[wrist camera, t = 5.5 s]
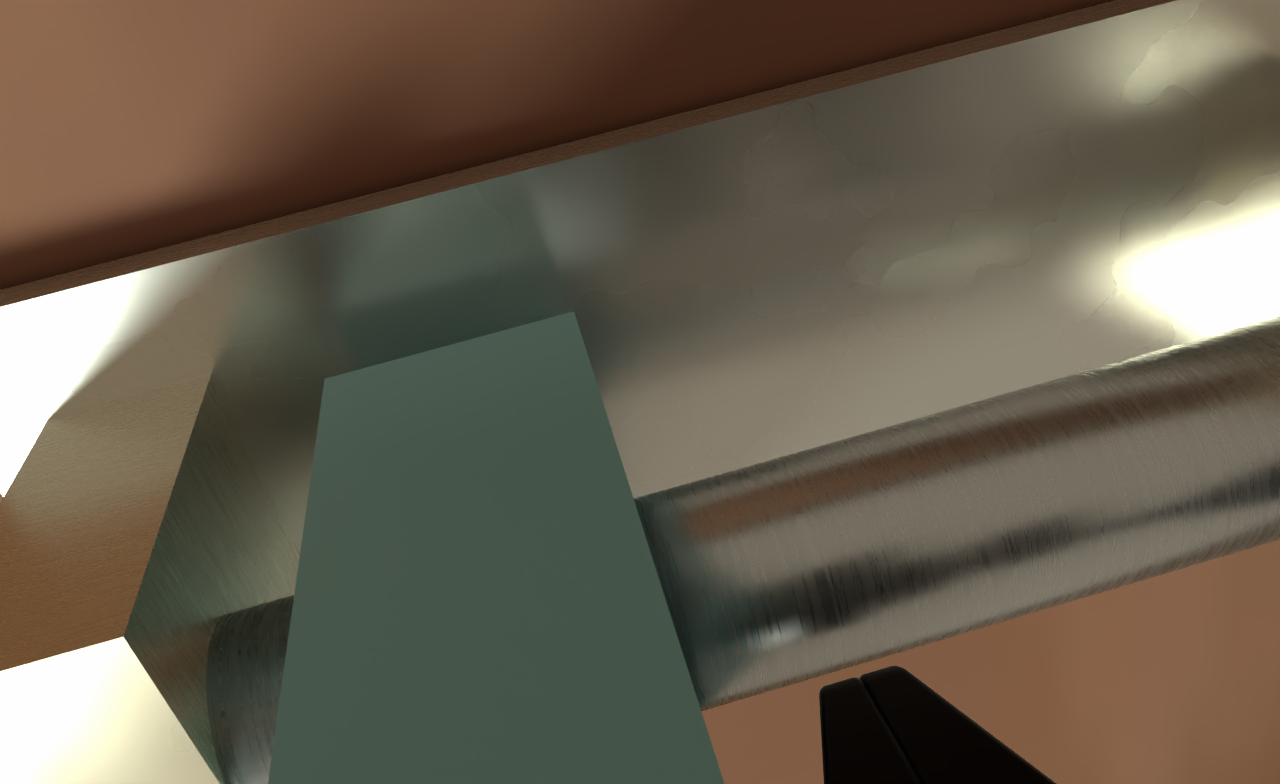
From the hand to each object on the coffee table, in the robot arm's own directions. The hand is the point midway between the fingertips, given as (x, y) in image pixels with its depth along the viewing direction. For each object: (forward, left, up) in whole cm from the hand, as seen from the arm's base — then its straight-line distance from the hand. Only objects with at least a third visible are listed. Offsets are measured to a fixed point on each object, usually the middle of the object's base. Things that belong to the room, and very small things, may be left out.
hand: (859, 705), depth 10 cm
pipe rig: (-2, 0, -6) cm, 6 cm away
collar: (+3, 0, -5) cm, 6 cm away
